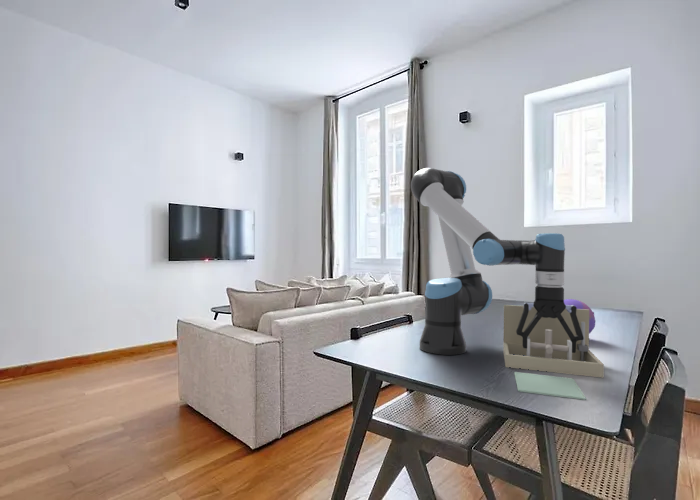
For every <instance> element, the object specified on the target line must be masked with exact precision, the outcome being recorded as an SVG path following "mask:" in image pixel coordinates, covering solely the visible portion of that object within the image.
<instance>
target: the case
mask: <svg viewBox="0 0 700 500" xmlns="http://www.w3.org/2000/svg"><path fill="white" fill-rule="evenodd" d="M523 310H524V307H523V305H514V304H513V305H512V304H504V305H503V341H502V342H503V346H502V347H503V351H502V352H503V353H502V354H503V359H504V365H505V366H504V367H505V368H509V367H511V369H519V368H521V369H520V370H528V369H529V370H530V371H537V370H539V372H546V371H547V373H548V372H549V373H556V374H557V373H558V374H567V375H574V376H586V377H594V378H602V379H603V378H604V375H605V373H604V368H605V367H604V366H605V364H604V363H603V362H602V361H601V360H600V359H599V358H598V357H597V356H596V355H595V354H594V353H593V352H592V351H591V350H590V349H589V347H590V345H589V344H590V334H589V310H587V309H576V316H577V319H578V322H579V325H580V328H581V331H582V334H583V337H584V339H583V340H579V341H577V342H576V352H575V353H572V360H567V352H561V351H553V353H552V358H545V350H543V349H533V348H530V356H526V348H523V337H522V336H520V335H517V333H516V330H517V327H518V324H519V322H520V319H521V316H522V313H523ZM536 313H537V310H536V309H535V308H534V307H532V308H531V310H529V312H528V316H527V318H526V321H525V324H524V327H523V330H522V332H524V331H525V329H526V328H527V326H528V325H529V324H530V322H531V321H532V319H533V318H534V316H535V314H536ZM561 315H562V317H563V318H564V320H565V322H566V323H567V325H568V327H569V328H570V330H571V331H572V333H573V335H574V336H576V332H575V329H574V325H573V322H572V319H571V316H570V313H569V312H568V311H567V309H565V310H564V311H563V312H562V313H561ZM546 329H549V330H552V344H554V345H563V346H567V340H570V338H569V336H568V334H567V333H566V331H565V330H564V328H563V326H562V325H561V323H560V322H559V320H558V318H550V317H548V318H543V317H541V319H540V320H539V321H538V323H537V324H536V325H535V327H534V328H533V330H532V331H531V333H530V334H529V335H528V337H530V342H534V343H544V344H545V330H546ZM513 354H515V355H513ZM523 355H525V356H523Z"/></svg>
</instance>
